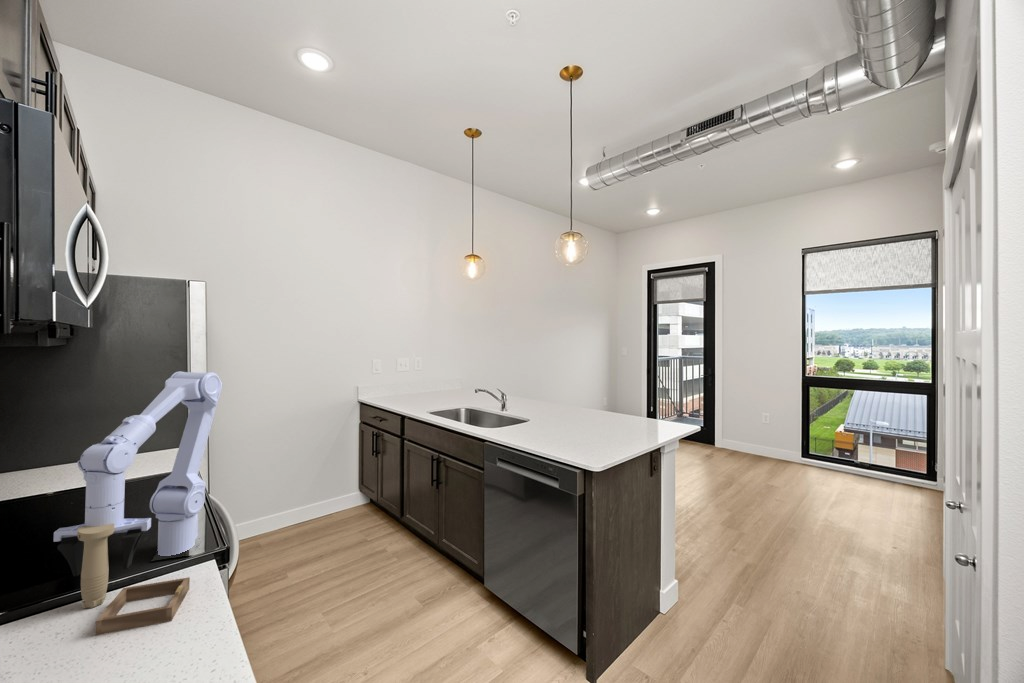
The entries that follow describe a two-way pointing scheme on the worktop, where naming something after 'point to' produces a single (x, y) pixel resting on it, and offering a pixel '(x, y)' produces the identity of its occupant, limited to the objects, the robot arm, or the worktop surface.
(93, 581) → the handle
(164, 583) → the collar
